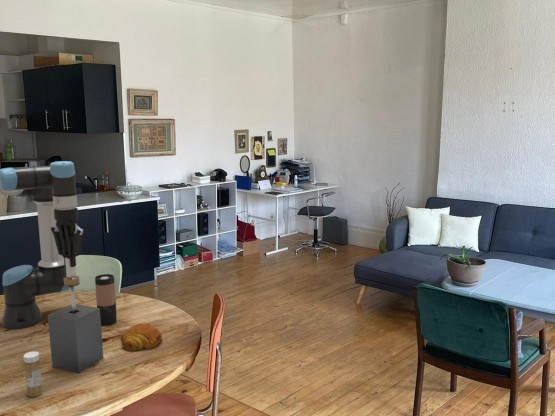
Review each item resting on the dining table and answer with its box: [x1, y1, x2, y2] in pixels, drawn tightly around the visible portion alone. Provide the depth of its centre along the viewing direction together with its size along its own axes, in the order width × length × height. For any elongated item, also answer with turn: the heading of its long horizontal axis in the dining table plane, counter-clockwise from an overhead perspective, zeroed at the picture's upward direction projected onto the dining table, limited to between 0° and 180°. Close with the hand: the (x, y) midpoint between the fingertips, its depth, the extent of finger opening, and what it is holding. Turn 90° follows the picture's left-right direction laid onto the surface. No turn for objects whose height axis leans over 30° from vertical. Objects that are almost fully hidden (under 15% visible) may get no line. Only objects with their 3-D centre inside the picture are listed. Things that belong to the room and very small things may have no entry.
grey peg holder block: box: [47, 303, 104, 374], centre depth 195 cm, size 12×12×19 cm
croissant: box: [120, 323, 163, 351], centre depth 212 cm, size 14×16×8 cm
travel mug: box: [94, 273, 117, 327], centre depth 230 cm, size 8×8×20 cm
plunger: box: [64, 275, 80, 314], centre depth 193 cm, size 9×9×20 cm
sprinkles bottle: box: [22, 350, 43, 398], centre depth 174 cm, size 5×5×14 cm
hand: (71, 275), depth 191 cm, fingers closed
